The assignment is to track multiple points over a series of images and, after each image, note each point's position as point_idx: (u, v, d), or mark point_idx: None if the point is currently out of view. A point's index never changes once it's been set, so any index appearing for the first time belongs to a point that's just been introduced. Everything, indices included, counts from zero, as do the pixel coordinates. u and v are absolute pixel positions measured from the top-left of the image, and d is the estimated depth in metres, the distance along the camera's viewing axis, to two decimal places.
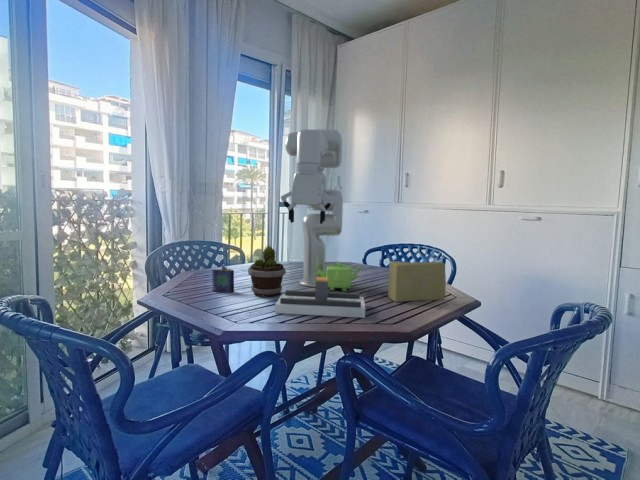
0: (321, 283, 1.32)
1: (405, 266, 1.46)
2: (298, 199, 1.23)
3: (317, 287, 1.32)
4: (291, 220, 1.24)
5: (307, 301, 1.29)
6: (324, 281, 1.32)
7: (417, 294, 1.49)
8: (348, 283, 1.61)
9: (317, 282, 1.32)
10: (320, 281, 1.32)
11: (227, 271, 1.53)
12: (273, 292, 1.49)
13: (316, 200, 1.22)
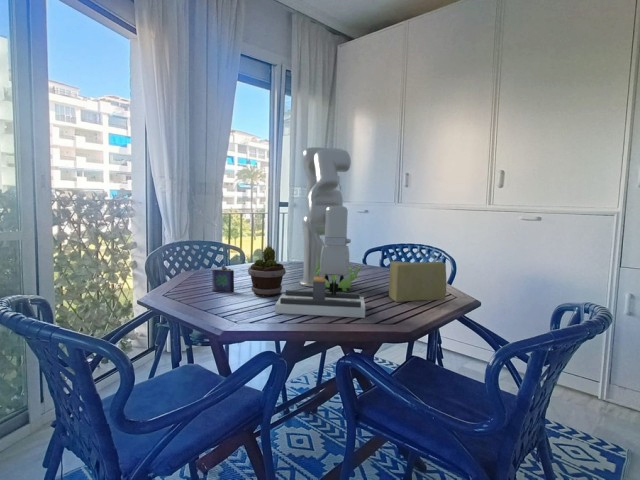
0: (319, 283, 1.32)
1: (406, 266, 1.46)
2: (326, 270, 1.31)
3: (315, 287, 1.32)
4: (332, 293, 1.33)
5: (307, 301, 1.29)
6: (322, 281, 1.32)
7: (417, 294, 1.49)
8: (348, 283, 1.61)
9: (315, 282, 1.32)
10: (318, 281, 1.32)
11: (227, 271, 1.53)
12: (273, 292, 1.49)
13: (343, 271, 1.31)
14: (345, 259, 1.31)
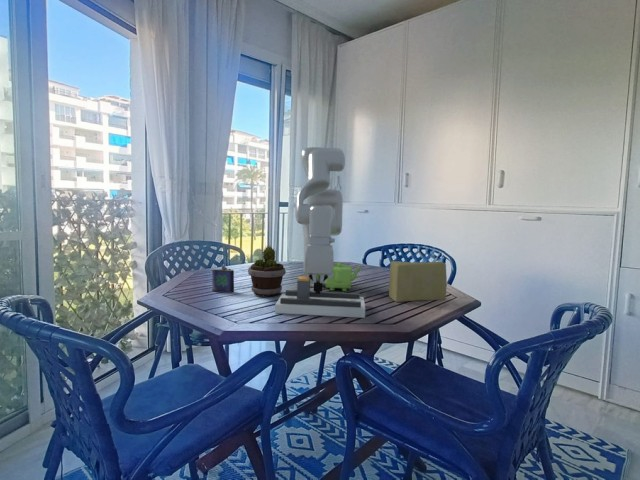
0: (303, 282, 1.32)
1: (406, 266, 1.46)
2: (310, 269, 1.32)
3: (299, 286, 1.32)
4: (316, 292, 1.33)
5: (307, 301, 1.29)
6: (306, 280, 1.32)
7: (417, 294, 1.49)
8: (348, 283, 1.61)
9: (299, 281, 1.32)
10: (302, 280, 1.32)
11: (227, 271, 1.53)
12: (273, 292, 1.49)
13: (327, 270, 1.32)
14: (329, 258, 1.31)
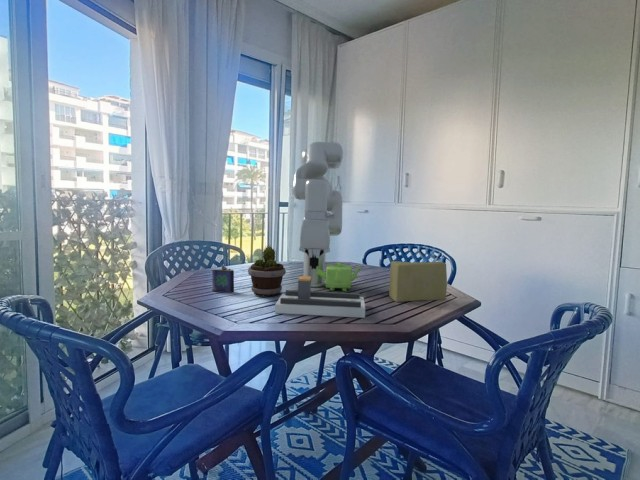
0: (303, 282, 1.32)
1: (406, 266, 1.46)
2: (306, 244, 1.31)
3: (300, 286, 1.32)
4: (312, 267, 1.33)
5: (307, 301, 1.29)
6: (306, 280, 1.32)
7: (418, 294, 1.49)
8: (348, 283, 1.61)
9: (299, 281, 1.32)
10: (302, 280, 1.32)
11: (227, 271, 1.53)
12: (273, 292, 1.49)
13: (323, 245, 1.31)
14: (325, 233, 1.30)
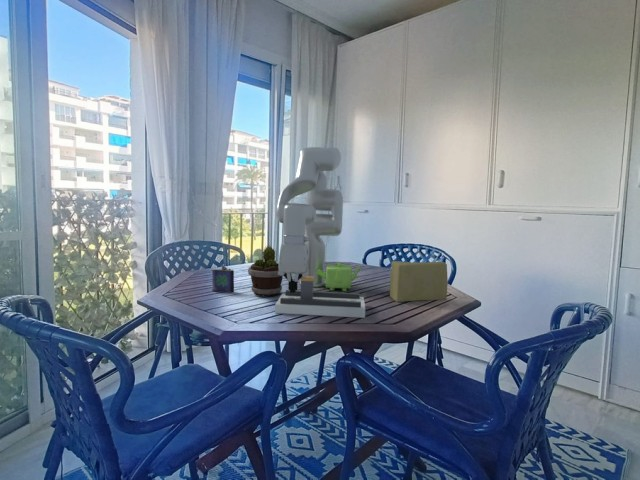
0: (306, 282, 1.32)
1: (407, 266, 1.46)
2: (284, 268, 1.32)
3: (302, 286, 1.32)
4: (290, 291, 1.34)
5: (307, 301, 1.29)
6: (309, 280, 1.32)
7: (418, 294, 1.50)
8: (348, 283, 1.61)
9: (302, 281, 1.32)
10: (305, 280, 1.32)
11: (227, 271, 1.53)
12: (273, 292, 1.49)
13: (301, 269, 1.32)
14: (303, 257, 1.31)
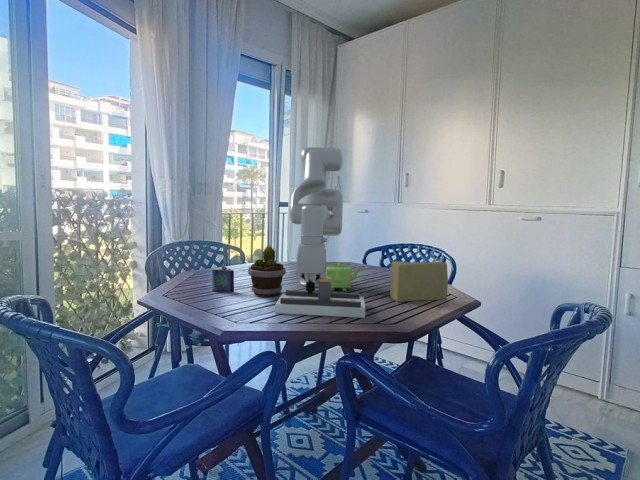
0: (324, 283, 1.32)
1: (407, 266, 1.46)
2: (302, 269, 1.32)
3: (320, 287, 1.32)
4: (308, 292, 1.33)
5: (307, 301, 1.29)
6: (327, 281, 1.32)
7: (419, 294, 1.50)
8: (348, 283, 1.61)
9: (320, 282, 1.32)
10: (323, 281, 1.32)
11: (227, 271, 1.53)
12: (273, 292, 1.49)
13: (319, 270, 1.32)
14: (321, 258, 1.31)
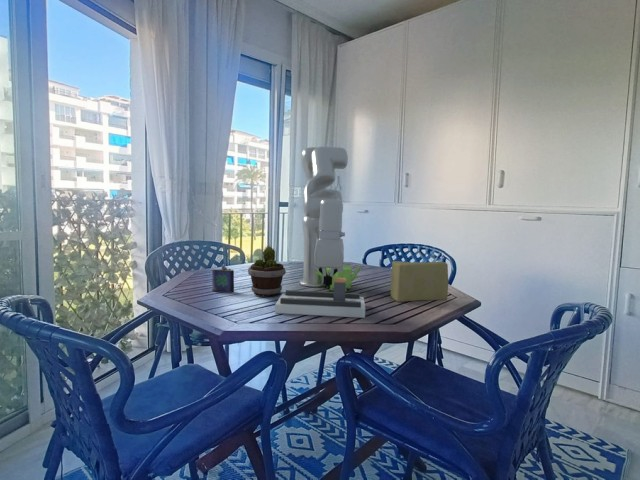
0: (339, 284, 1.31)
1: (407, 266, 1.46)
2: (320, 263, 1.32)
3: (335, 288, 1.32)
4: (326, 285, 1.34)
5: (307, 301, 1.29)
6: (342, 282, 1.31)
7: (419, 294, 1.50)
8: (348, 283, 1.61)
9: (335, 283, 1.31)
10: (338, 282, 1.31)
11: (227, 271, 1.53)
12: (273, 292, 1.49)
13: (337, 264, 1.32)
14: (339, 252, 1.31)
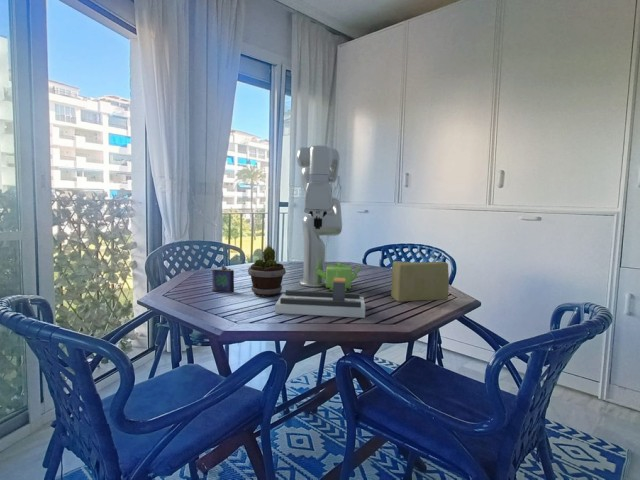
0: (339, 284, 1.31)
1: (408, 266, 1.46)
2: (311, 205, 1.42)
3: (335, 288, 1.32)
4: (316, 227, 1.44)
5: (307, 301, 1.29)
6: (342, 282, 1.31)
7: (420, 294, 1.50)
8: (348, 283, 1.61)
9: (335, 283, 1.31)
10: (338, 282, 1.31)
11: (227, 271, 1.53)
12: (273, 292, 1.49)
13: (326, 206, 1.42)
14: (328, 195, 1.42)
